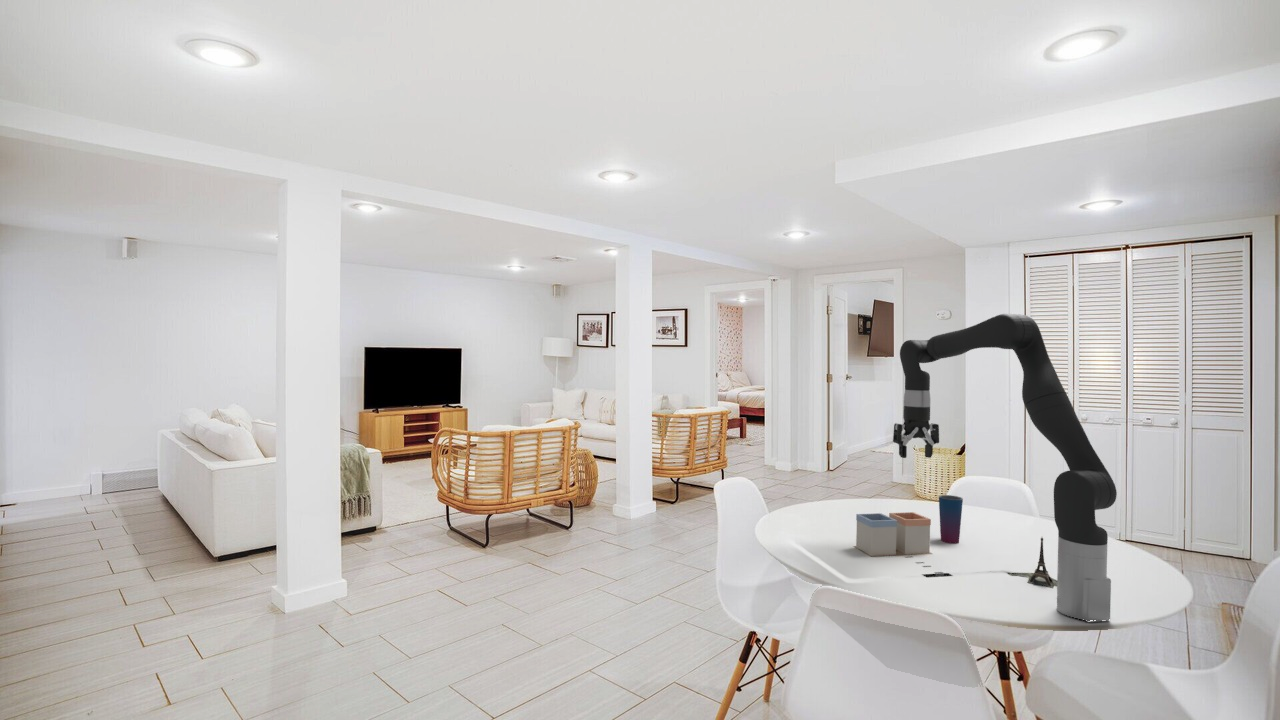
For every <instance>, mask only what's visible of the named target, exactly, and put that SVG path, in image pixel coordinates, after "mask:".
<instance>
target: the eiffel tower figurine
mask: <svg viewBox="0 0 1280 720" xmlns="http://www.w3.org/2000/svg"><path fill="white" fill-rule="evenodd" d="M1039 550H1040V551H1039V558H1038V561H1037V566H1036V568H1035V570H1034V572H1007V574H1008V575H1010V576H1012V577H1021V578H1025V579H1026V578H1028V579H1027V583H1026V584H1030V585H1033V586H1040V587H1045V588H1049V589H1054V587H1057V579H1054V578H1052V576H1050V574H1049V571H1048V570H1047V567H1046V562H1045V557H1044V538H1043V537H1040V549H1039ZM1040 568H1042V569H1040Z"/></svg>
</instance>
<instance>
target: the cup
mask: <svg viewBox="0 0 1280 720" xmlns="http://www.w3.org/2000/svg"><path fill="white" fill-rule="evenodd" d="M963 499H964V498H963V497H961V496H957V495H950V494H940V495H938V508H939V509H938V510H939V526H940V527H939V530H940V541H941V542H943V543H946V544H959V543H960V537H961V535H960V534H961V524H962V523H961V522H962V513H963V501H964V500H963Z"/></svg>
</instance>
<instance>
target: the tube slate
mask: <svg viewBox="0 0 1280 720" xmlns="http://www.w3.org/2000/svg"><path fill="white" fill-rule="evenodd" d="M855 516H856V518H855V519H856V534H855V535H856V536H855V537H856V538H855V540H856V543H855V544H856V545H855V546H856V547H857V548H858V549H860V550H862V551H864V552H865V553H867V554H869V555H871V556H876V555H896V527H897V520H895V519H893V518H890V517H889V515H886V514H883V513H880V512H878V513H856V515H855ZM858 549H857V550H858ZM860 550H859V551H860ZM862 551H861V552H862ZM865 553H864V554H865ZM867 554H866V555H867ZM869 555H868V556H869Z"/></svg>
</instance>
